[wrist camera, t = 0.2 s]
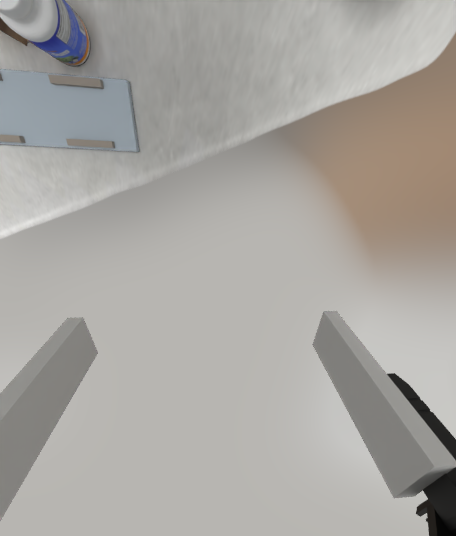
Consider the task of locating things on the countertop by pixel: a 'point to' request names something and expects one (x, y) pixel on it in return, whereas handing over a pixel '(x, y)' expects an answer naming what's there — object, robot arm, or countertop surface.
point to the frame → (11, 32)
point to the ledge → (66, 111)
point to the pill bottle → (49, 27)
